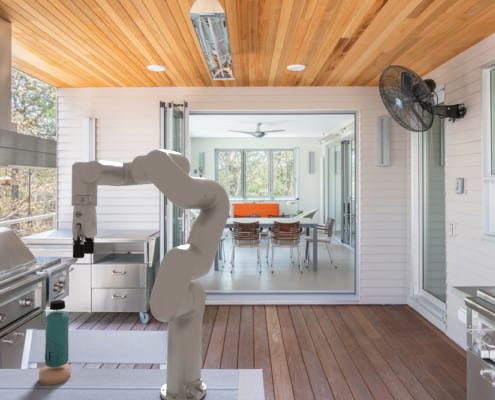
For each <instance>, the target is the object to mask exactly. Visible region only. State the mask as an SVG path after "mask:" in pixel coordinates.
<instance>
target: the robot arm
mask: <svg viewBox="0 0 495 400" xmlns="http://www.w3.org/2000/svg"><path fill="white" fill-rule="evenodd" d="M190 172H191V164H190V160H189V159H188V158H187V157H186V156H185V155H184V154H182V153H180V152H177V151H172V150H167V149H162V148H159V149H158V148H157V149H153V150H151V151H149V152H148V153H146V154H143V155H142V154H141V155H137V156H135V157H134V158H133V160H132V161H131V162H114V161H107V160H99V159H98V160H95V159H94V160H90V161H76V162H74V163H73V164H72V165H71V205H70V206H71V207H73V209H72V210H73V212H72V224H71V225H72V226H71V228H72V231H71V232H72V258H73V259H83V258H85V255H93V254H94V253H95V237H97V234H98V222H97V221H98V217H97V209H96V207H98V186H109V187H110V186H112V187H126V186H139V185H152V184H153V186H154V187H155V188H157V189H158V190H159V192H161V193H162V194H163V196H165V197H166V199H167V200H169V202H171V203H172V204H173V205H174V206H176V207H177V208H179V209H183V210H198V209H199V213H198V216H197V217H196V219H195V220H194V222H193V223H192V226H191V229H190V232H189V235H188V237H187V240H186V241H185V243H184V244H183V245H182V244H181V245H179V246H175V247H172V248H171V249H169V250H168V251H167V252H166V253H165V255H164V256H163V257H162V260H161V261H160V264H159V267H158V270H157V275H156V277H155V280H154V283H153V286H152V288H151V293H150V297H149V308H150V312H151V314H152V316H153V317H154V318H155V319H156V320H157V321H159V322H161V323H168V325H167V332H166V333H167V335H166V378H165V379H166V383H165V384H163V385H162V386H161V387H160V397H161V398H162V399H164V400H201V399H202V398H203V397H204V396H205V395H206V393H207V386H206V384H205V383H204V382H203V378H202V341H203V340H202V339H203V338H202V337H203V319H204V313H205V306H206V300H207V299H206V298H207V297H206V296H207V295H206V290H205V287H204V285H203V284H202V283H201V281H199V280H197V279H199V278H202V277H205V276H207V274H209V273H210V272H211V270H212V267H213V265H214V261H215V258H216V255H217V253H218V252H217V251H218V250H219V249H218V248H219V246H220V242H221V239H222V236H223V233H224V230H225V228H226V225H227V222H228V219H229V215H230V211H231V210H230V209H231V205H230V204H231V203H230V197H229V196H228V193H227V191H226V189H225V188H224V187H223V186H222V185H221V184H220V183H219V182H218V181H215V180H213V179H210V178H206V177H195V176H190V175H189V174H190Z"/></svg>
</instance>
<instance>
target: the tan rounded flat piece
mask: <svg viewBox="0 0 495 400" xmlns="http://www.w3.org/2000/svg"><path fill="white" fill-rule="evenodd" d="M71 370H72V369H71V364H69V363H68V362H67V363H66V364H65V365H63V366H59V367H47V366H46V365H44V366H43V367H41V368H40V369H39V371H38V383H39V384H40V385H43V386H56V385H59V384H63V383H66V382H67V381H69V380H70V379H71V376H72V375H71ZM69 378H70V379H69ZM68 379H69V380H68Z"/></svg>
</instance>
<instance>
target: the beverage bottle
mask: <svg viewBox="0 0 495 400" xmlns="http://www.w3.org/2000/svg"><path fill="white" fill-rule="evenodd" d="M64 309H66V302H65V300H64V299H63V300H62V299H55V300H52V301H50V304H49V310H51V311H50V312H49V313H48V314H47V316H45V335H44V336H45V344H44V345H45V347H44V364H45V366H47V367H59V366H63V365H65V364H66V363H67V364H68V361H69V352H70V349H69V347H70V346H69V342H70V340H69V325H70V324H69V319H70V318H69V317H70V313H68V312H67V311H65V310H64Z"/></svg>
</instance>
